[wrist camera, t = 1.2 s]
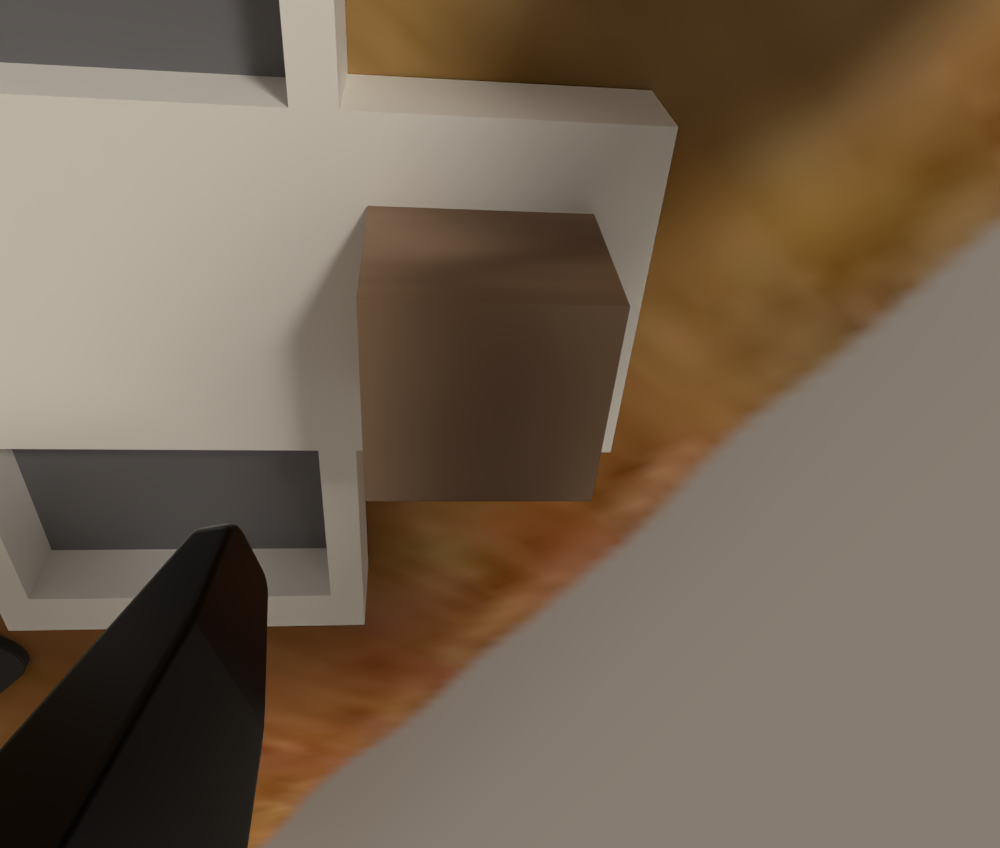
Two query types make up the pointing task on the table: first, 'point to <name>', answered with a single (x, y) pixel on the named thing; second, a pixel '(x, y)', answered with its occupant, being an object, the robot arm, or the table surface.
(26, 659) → the phone
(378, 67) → the table surface
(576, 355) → the walnut block
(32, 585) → the box
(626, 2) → the table surface
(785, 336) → the table surface
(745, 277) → the table surface
